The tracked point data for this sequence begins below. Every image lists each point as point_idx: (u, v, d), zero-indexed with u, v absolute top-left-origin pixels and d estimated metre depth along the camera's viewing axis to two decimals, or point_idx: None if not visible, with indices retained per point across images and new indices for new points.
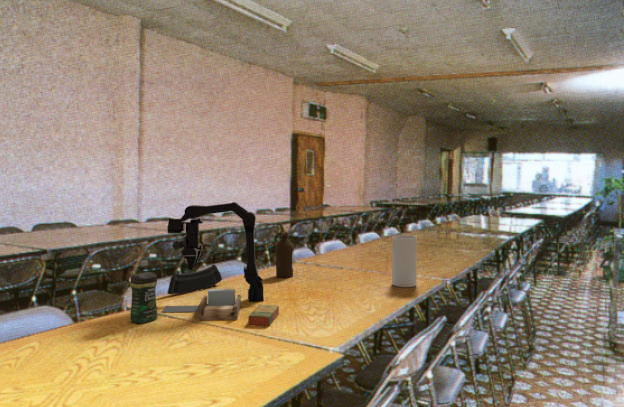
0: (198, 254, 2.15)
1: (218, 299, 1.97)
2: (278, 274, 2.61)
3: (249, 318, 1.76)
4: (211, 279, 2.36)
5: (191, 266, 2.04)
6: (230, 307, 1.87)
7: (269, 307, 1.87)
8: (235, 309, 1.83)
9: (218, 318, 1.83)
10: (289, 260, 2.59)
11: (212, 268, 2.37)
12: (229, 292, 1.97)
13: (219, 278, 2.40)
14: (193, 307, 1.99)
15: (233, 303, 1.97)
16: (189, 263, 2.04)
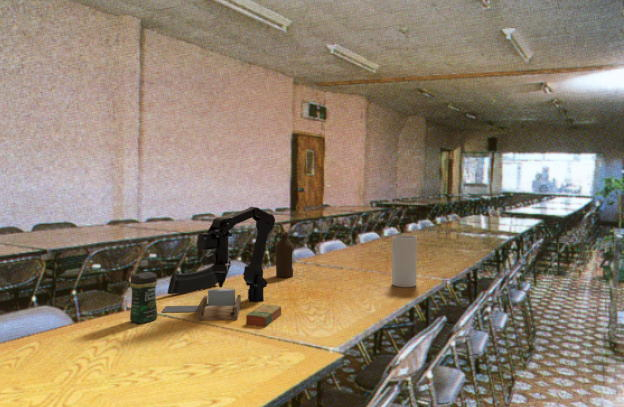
0: (227, 269, 2.03)
1: (218, 299, 1.97)
2: (278, 274, 2.61)
3: (247, 317, 1.77)
4: (211, 279, 2.36)
5: (221, 283, 1.93)
6: (230, 307, 1.87)
7: (271, 307, 1.87)
8: (235, 309, 1.83)
9: (218, 318, 1.83)
10: (289, 260, 2.59)
11: None
12: (229, 292, 1.97)
13: None
14: (193, 307, 1.99)
15: (233, 303, 1.97)
16: (219, 280, 1.92)
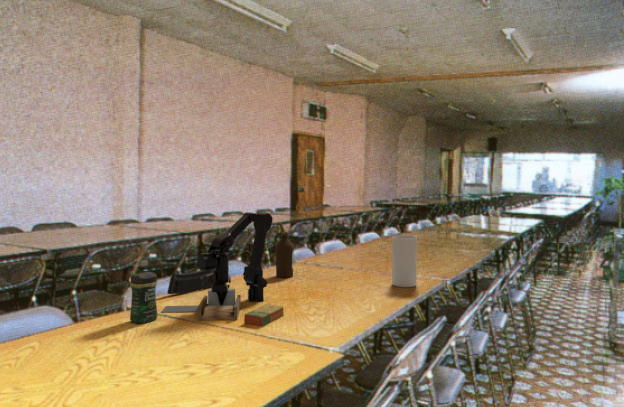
0: None
1: (218, 299, 1.97)
2: (278, 274, 2.61)
3: (245, 317, 1.78)
4: None
5: (222, 300, 1.96)
6: (230, 307, 1.87)
7: (272, 307, 1.87)
8: (235, 309, 1.83)
9: (218, 318, 1.83)
10: (289, 260, 2.59)
11: None
12: (229, 292, 1.97)
13: None
14: (193, 307, 1.99)
15: (233, 303, 1.97)
16: (220, 297, 1.95)
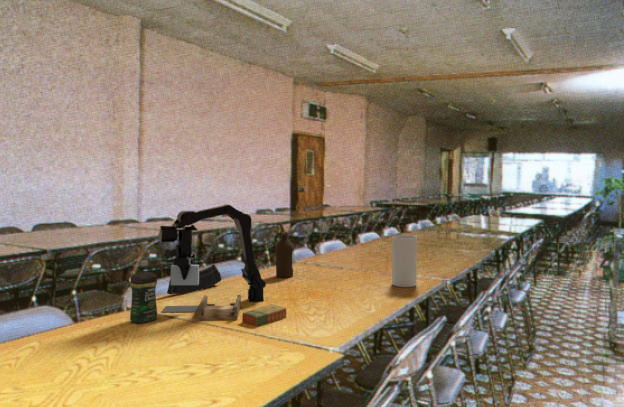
0: (190, 264, 1.98)
1: (181, 274, 1.95)
2: (278, 274, 2.61)
3: (243, 315, 1.80)
4: (211, 279, 2.36)
5: (184, 275, 1.94)
6: (230, 307, 1.87)
7: (274, 308, 1.86)
8: (235, 309, 1.83)
9: (218, 318, 1.83)
10: (289, 260, 2.59)
11: (212, 268, 2.37)
12: (192, 267, 1.95)
13: (219, 278, 2.40)
14: (193, 307, 1.99)
15: (196, 278, 1.95)
16: (182, 272, 1.93)
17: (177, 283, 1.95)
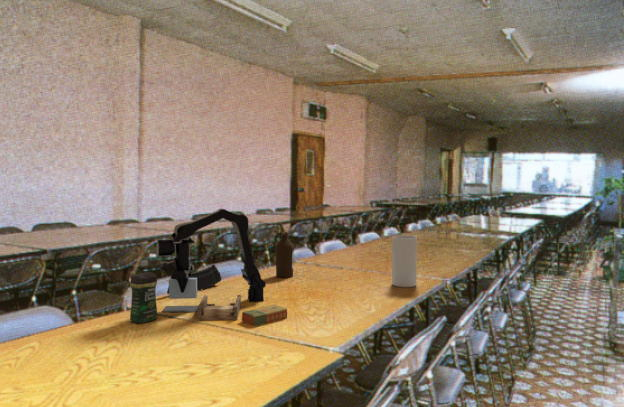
0: (188, 277, 1.99)
1: (179, 287, 1.95)
2: (278, 274, 2.61)
3: (242, 314, 1.81)
4: (211, 279, 2.36)
5: (183, 288, 1.94)
6: (230, 307, 1.87)
7: (275, 308, 1.85)
8: (235, 309, 1.83)
9: (218, 318, 1.83)
10: (289, 260, 2.59)
11: (212, 268, 2.37)
12: (190, 281, 1.95)
13: (219, 278, 2.40)
14: (193, 307, 1.99)
15: (194, 292, 1.96)
16: (180, 285, 1.94)
17: (175, 297, 1.95)
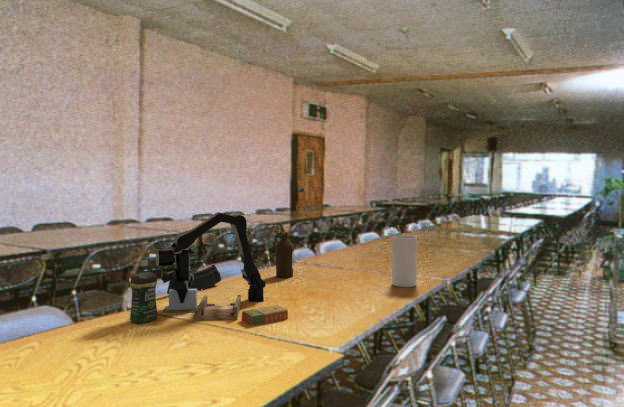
0: (188, 286, 2.00)
1: None
2: (278, 274, 2.61)
3: (242, 314, 1.82)
4: (211, 279, 2.36)
5: (182, 299, 1.94)
6: (230, 307, 1.87)
7: (275, 308, 1.85)
8: (235, 309, 1.83)
9: (218, 318, 1.83)
10: (289, 260, 2.59)
11: (211, 268, 2.37)
12: (190, 292, 1.96)
13: (218, 278, 2.40)
14: None
15: (194, 303, 1.96)
16: (180, 296, 1.93)
17: (175, 308, 1.95)
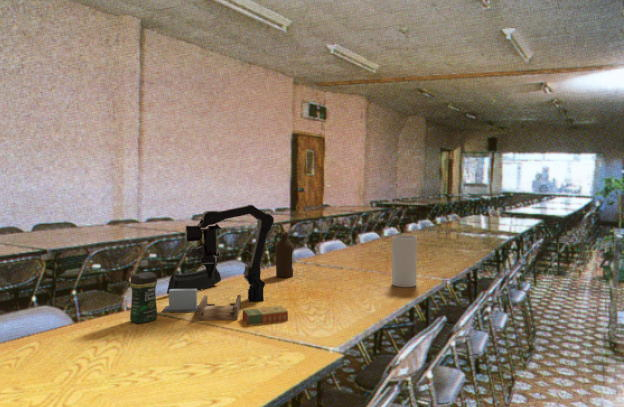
0: (216, 260, 2.10)
1: (179, 298, 1.95)
2: (278, 274, 2.61)
3: (243, 312, 1.84)
4: (211, 279, 2.36)
5: (210, 274, 1.99)
6: (230, 307, 1.87)
7: (276, 309, 1.84)
8: (235, 309, 1.83)
9: (218, 318, 1.83)
10: (289, 260, 2.59)
11: None
12: (190, 292, 1.96)
13: (218, 278, 2.40)
14: None
15: (194, 303, 1.96)
16: (208, 271, 1.99)
17: (175, 308, 1.95)
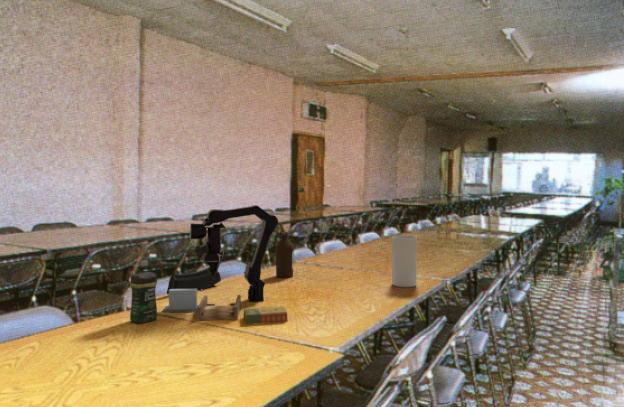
0: (220, 259, 2.11)
1: (179, 298, 1.95)
2: (278, 274, 2.61)
3: None
4: (210, 279, 2.36)
5: (213, 272, 2.01)
6: (230, 307, 1.87)
7: (276, 310, 1.83)
8: (235, 309, 1.83)
9: (218, 318, 1.83)
10: (289, 260, 2.59)
11: None
12: (190, 292, 1.96)
13: (218, 278, 2.40)
14: None
15: (194, 303, 1.96)
16: (211, 269, 2.00)
17: (175, 308, 1.95)
